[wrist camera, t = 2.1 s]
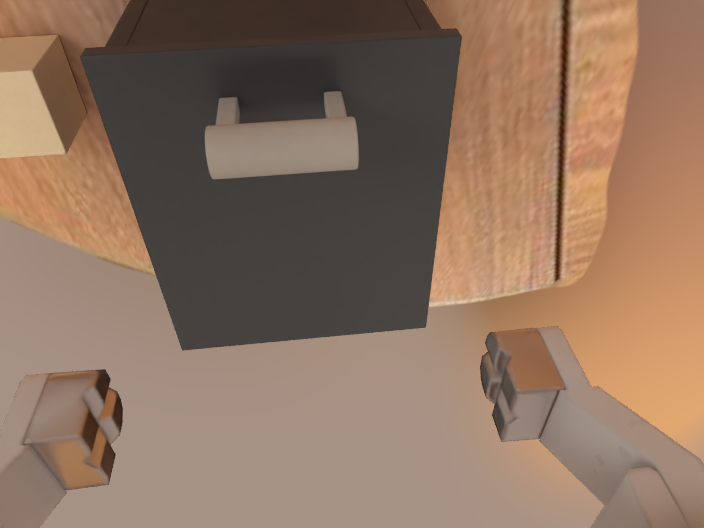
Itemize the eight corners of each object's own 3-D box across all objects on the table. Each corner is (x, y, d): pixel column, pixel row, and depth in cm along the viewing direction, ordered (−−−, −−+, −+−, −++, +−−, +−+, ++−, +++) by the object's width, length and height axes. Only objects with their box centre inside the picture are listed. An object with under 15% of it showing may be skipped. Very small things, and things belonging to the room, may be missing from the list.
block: (-32, 38, 29) (-70, 76, 25) (58, 34, 29) (32, 70, 26) (6, 118, 32) (-24, 160, 28) (87, 113, 32) (66, 154, 29)
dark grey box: (137, -15, 28) (91, 68, 21) (407, -27, 29) (454, 47, 22) (199, 229, 39) (183, 339, 31) (394, 213, 40) (423, 317, 33)
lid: (84, 47, 20) (43, 114, 16) (457, 27, 21) (497, 87, 17) (183, 339, 31) (172, 418, 28) (423, 317, 32) (443, 391, 29)
